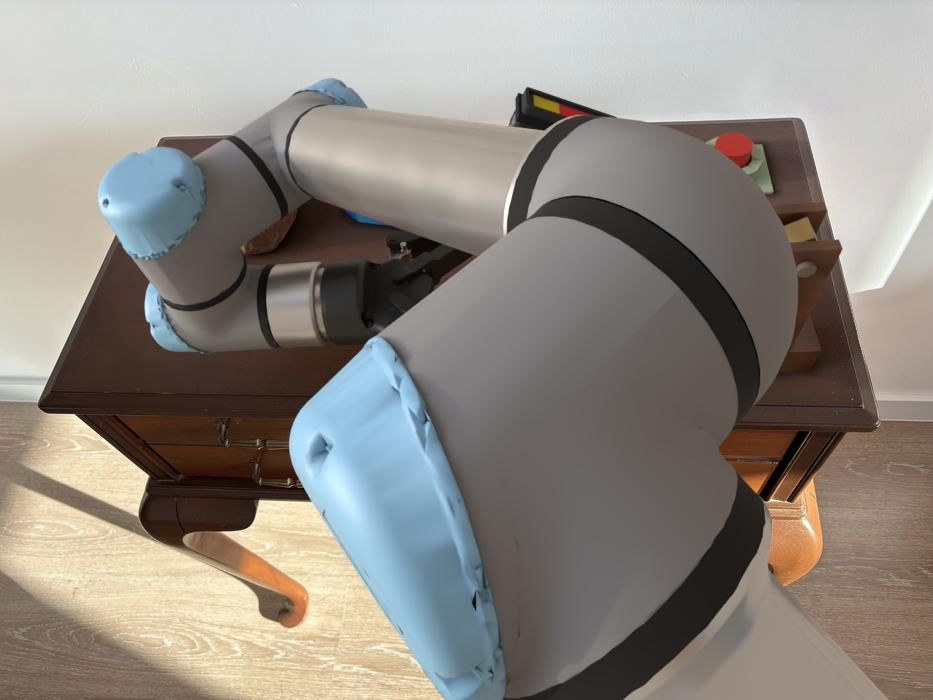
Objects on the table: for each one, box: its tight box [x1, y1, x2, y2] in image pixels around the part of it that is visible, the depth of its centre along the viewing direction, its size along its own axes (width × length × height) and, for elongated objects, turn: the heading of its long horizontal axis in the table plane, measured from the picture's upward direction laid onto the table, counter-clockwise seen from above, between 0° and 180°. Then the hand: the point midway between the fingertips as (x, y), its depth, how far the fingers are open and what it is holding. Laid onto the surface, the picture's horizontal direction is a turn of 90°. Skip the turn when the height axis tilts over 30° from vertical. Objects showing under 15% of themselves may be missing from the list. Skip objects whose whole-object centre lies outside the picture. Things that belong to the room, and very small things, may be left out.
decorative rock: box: [240, 207, 299, 256], centre depth 80 cm, size 13×11×10 cm
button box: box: [704, 136, 775, 195], centre depth 80 cm, size 9×8×3 cm
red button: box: [714, 132, 753, 168], centre depth 79 cm, size 4×4×2 cm
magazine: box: [508, 86, 618, 131], centre depth 77 cm, size 4×13×15 cm, turn 89°
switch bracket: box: [771, 201, 843, 372], centre depth 60 cm, size 10×6×18 cm, turn 90°
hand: (571, 290), depth 60 cm, fingers open, 13 cm apart
